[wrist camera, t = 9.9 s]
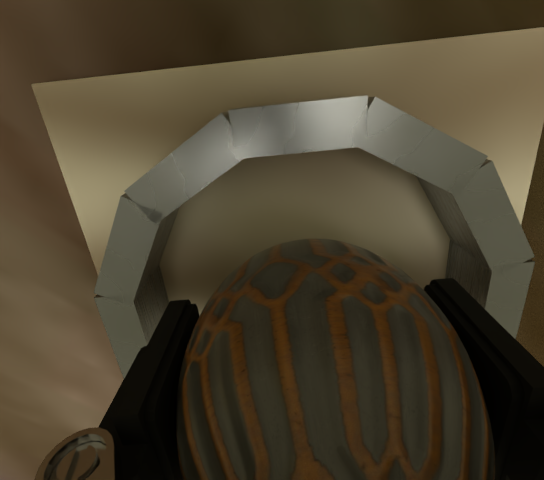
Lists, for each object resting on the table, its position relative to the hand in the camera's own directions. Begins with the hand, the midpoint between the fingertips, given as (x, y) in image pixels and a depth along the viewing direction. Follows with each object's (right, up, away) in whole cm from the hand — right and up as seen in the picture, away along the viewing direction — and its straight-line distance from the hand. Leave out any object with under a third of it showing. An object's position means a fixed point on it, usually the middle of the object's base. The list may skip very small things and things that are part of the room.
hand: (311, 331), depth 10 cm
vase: (0, +1, +2) cm, 2 cm away
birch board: (0, +1, +4) cm, 4 cm away
